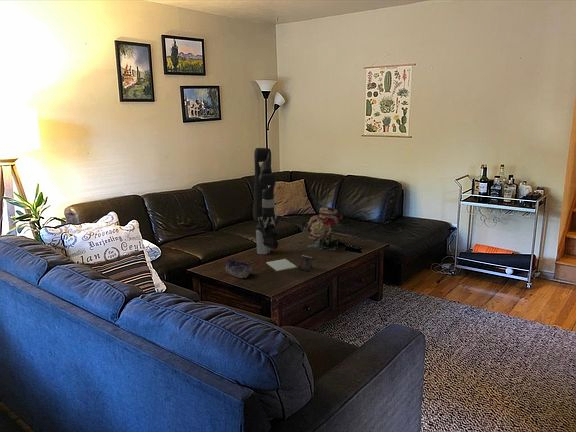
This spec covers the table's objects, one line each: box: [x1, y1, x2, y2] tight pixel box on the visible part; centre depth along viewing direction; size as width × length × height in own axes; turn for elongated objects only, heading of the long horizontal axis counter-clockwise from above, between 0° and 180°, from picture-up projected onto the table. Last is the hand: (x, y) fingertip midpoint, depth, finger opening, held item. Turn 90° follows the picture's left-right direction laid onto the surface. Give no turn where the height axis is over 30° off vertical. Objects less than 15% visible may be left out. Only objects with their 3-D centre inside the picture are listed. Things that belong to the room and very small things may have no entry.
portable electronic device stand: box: [296, 254, 315, 273], centre depth 294 cm, size 9×8×8 cm
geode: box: [225, 257, 253, 279], centre depth 288 cm, size 20×12×10 cm, turn 53°
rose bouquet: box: [306, 205, 347, 252], centre depth 337 cm, size 26×29×30 cm
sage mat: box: [266, 258, 298, 272], centre depth 303 cm, size 18×14×1 cm
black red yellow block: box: [261, 224, 279, 250], centre depth 290 cm, size 4×13×15 cm, turn 40°
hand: (269, 232), depth 290 cm, fingers closed on black red yellow block, 4 cm apart
